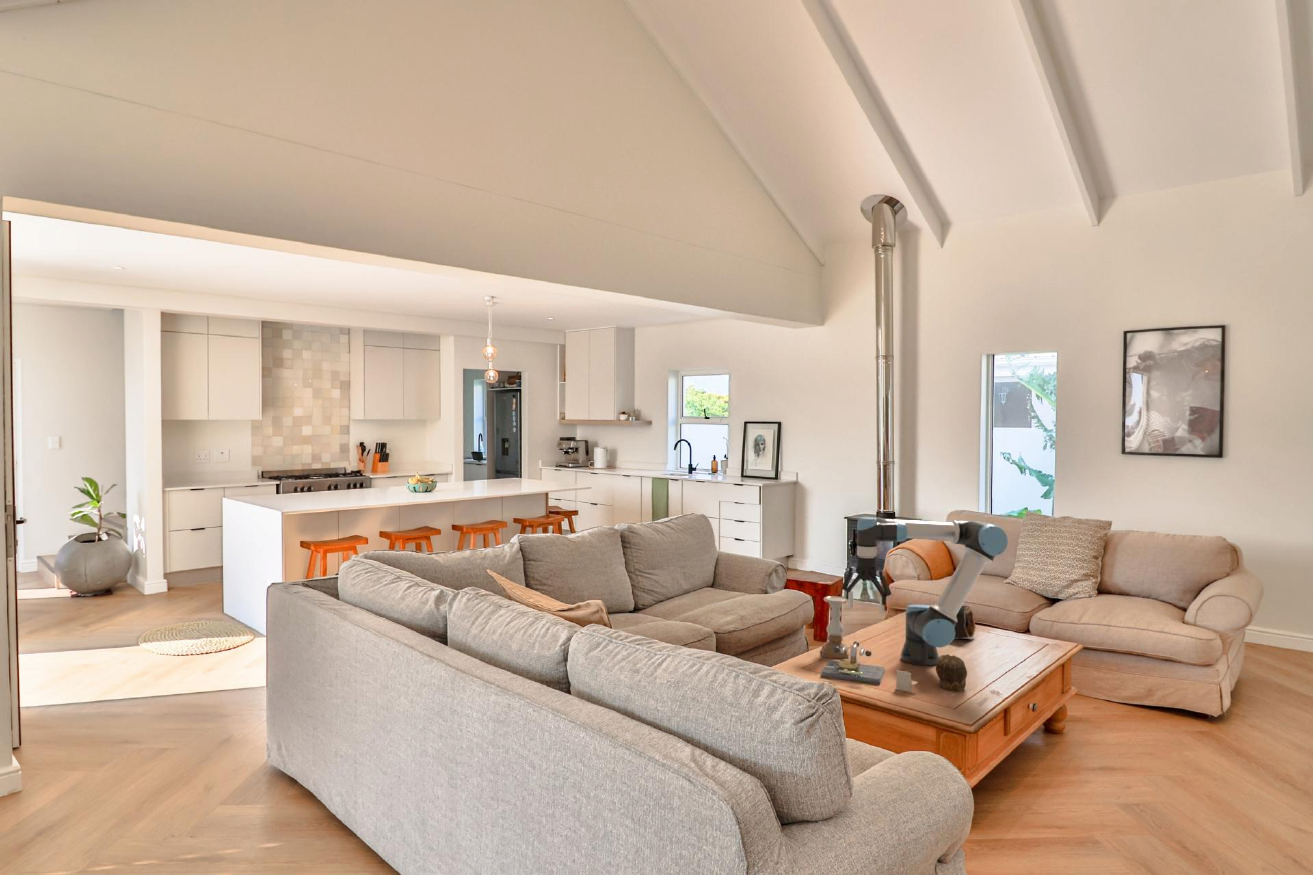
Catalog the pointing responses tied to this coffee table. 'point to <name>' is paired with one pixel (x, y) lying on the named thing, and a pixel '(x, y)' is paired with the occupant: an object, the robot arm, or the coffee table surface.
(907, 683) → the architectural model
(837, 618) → the candle holder
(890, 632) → the coffee table surface
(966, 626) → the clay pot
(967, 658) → the coffee table surface
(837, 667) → the stand
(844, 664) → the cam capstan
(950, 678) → the dark brown rounded lump
